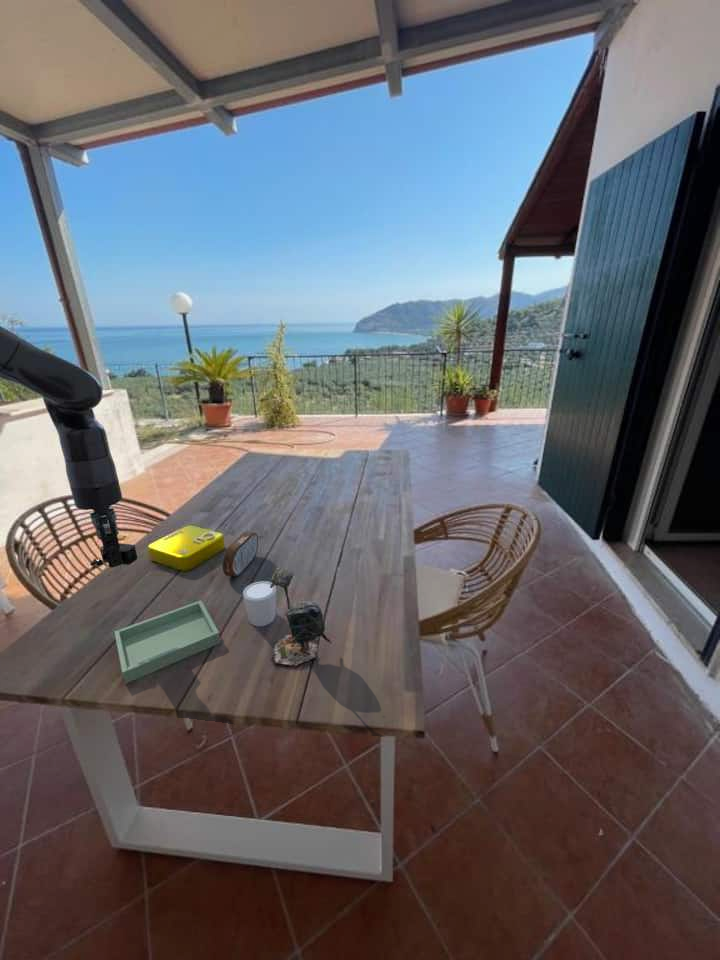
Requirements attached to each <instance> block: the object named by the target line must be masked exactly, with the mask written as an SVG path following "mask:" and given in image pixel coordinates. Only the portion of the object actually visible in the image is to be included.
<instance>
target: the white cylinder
mask: <svg viewBox="0 0 720 960" xmlns="http://www.w3.org/2000/svg"><path fill="white" fill-rule="evenodd" d="M271 584H272V581H266V580H262V581H261V580H260V581H256V582H252V583H250V584H249V585H247V586H245V588H244V590H242V597H243V601H244V605H245V609H246V614H247V618H248V622H249V623H250V625H252V626H255V627H265V626H267V625H270V624H271V623H273V622H274V620H275V619H276V611H277V610H276V609H277V608H276V607H277V585H274V586H273V587H272V588H270V586H271Z"/></svg>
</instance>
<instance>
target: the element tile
mask: <svg viewBox="0 0 720 960" xmlns="http://www.w3.org/2000/svg"><path fill="white" fill-rule="evenodd" d="M225 545H226V544H225V538H224V534H223V533H222V532H218V531H214V530H211V529H207V528H203V527H200V526H197V525H189V524H188V525H186V526H183V527H182V528H180V529H177V530H176V531H173V532H170V533H169V534H168V535H165V536H163V537H161V538H158V539H157V540H155V541H153V542H151V543H150V544H148V545H147V550H148V554H149V559H150V561H152V562H154V561H155V562H154V563H157V562H158V563H157V564H160V565H163V566H166V567H168V566H169V567H168V568H172V569H175V570H178V571H180V572H188V571H190V570H193V569H195V568H196V567H198V566H199V565H201V564H202V563H204V562H205V561H207V560H209V559H210V558H213V557H214V556H216V555H217V554H219V553H220V552H222V551H223V550H224V549H225V548H226V547H225Z"/></svg>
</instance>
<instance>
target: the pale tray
mask: <svg viewBox="0 0 720 960" xmlns="http://www.w3.org/2000/svg"><path fill="white" fill-rule="evenodd" d="M114 637H115V638H114V639H115V643H116V648H117V654H118V658H119V664H120V669H121V673H122V678H123V681H124V684H125V685H127V684H129V683H131V682H133V681H136V680H138V679H141V678H143V677H145V676H147V675H150V674H152V673H154V672H156V671H159V670H161V669H164V668H166V667H168V666H171V665H173V664H176V663H178V662H181V661H182V660H184V659H187V658H190V657H192V656H194V655H196V654H198V653H201V652H204V651H205V650H207V649H210V648H212V647H215V646H217V645H219V644H221V634H220V631H219V629H218V628H217V626H216V624H215V623H214V621H213V619H212V617H211V615H210V613H209V611H208V610H207V608H206V606H205V603H204V602H203V601H202V600H197V601H195V602H192V603H189V604H187V605H183V606H181V607H179V608H176V609H173V610H170V611H168V612H165V613H162V614H159V615H156V616H153V617H151V618H148V619H145V620H143V621H140V622H137V623H134V624H131V625H128V626H126V627H122V628H119V629H118V630H115V631H114Z"/></svg>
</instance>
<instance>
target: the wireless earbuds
mask: <svg viewBox="0 0 720 960" xmlns="http://www.w3.org/2000/svg"><path fill="white" fill-rule="evenodd" d="M110 543H113V542H110ZM110 543H107V544H110ZM107 544H106V545H107ZM119 544H120V549H119V551H120V556H121V560H122V564H121V565H126V566H129V565H131V564H133V563H134V562H136V561H137V560H138V553H137V549H136V545H135V544H131V543H121V542H119ZM99 551H100V555H101V559H100V558H97V557H95V558H93V560H92V561H91V562H90V564H89V565H90V566H92V567H94V566H98V567H100V566H102V565H103V564H104V563H108V560H107V557H106V553H105V551H103V545H102V546H100V547H99Z"/></svg>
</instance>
